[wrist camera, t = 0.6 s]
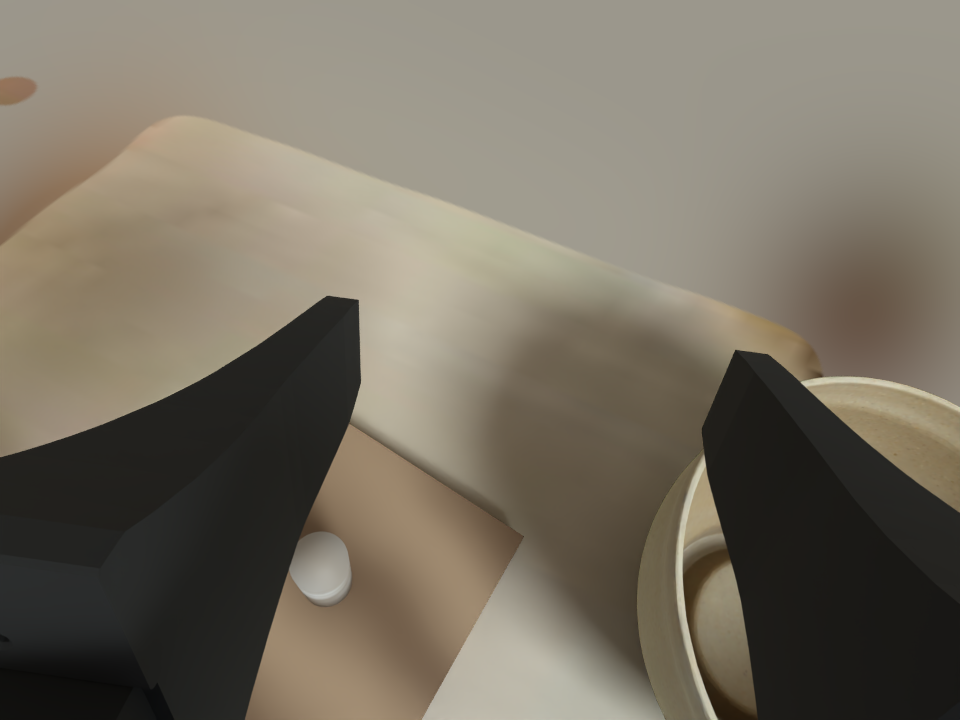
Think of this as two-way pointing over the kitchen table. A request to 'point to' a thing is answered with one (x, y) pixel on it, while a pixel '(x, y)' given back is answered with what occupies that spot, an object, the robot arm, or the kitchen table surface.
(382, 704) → the pin block
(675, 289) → the kitchen table surface
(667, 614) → the planter bowl
